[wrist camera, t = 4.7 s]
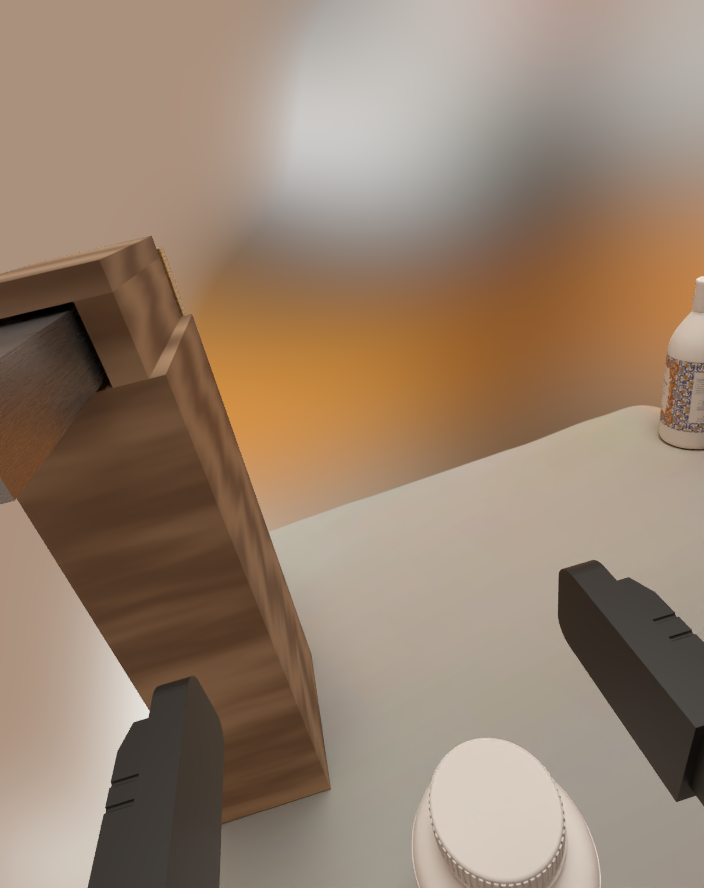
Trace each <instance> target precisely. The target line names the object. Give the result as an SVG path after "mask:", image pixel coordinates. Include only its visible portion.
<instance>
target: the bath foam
mask: <svg viewBox="0 0 704 888" xmlns="http://www.w3.org/2000/svg"><path fill="white" fill-rule="evenodd" d="M695 284H696V290H695V294H694V299H693V310H692V311H691V313H690V314H689V315H688V316H687V317H686V318H685V319H684V320H683V322H682V323H681V324H680V325H679V326H678V328H677V329H676V330H675V332H674V333H673V335H672V337H671V340H670V342H669V346H668V350H667V356H666V367H665V376H664V386H663V396H662V405H661V414H660V425H659V435H660V437H661V438H662V439H663V440H664V441H665V442H667V443H669V444H671V445H673V446H676V447H680V448H686V449H704V276H702V277H699V278H697V279H696V283H695Z"/></svg>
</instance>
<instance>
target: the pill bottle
mask: <svg viewBox="0 0 704 888" xmlns="http://www.w3.org/2000/svg"><path fill="white" fill-rule="evenodd" d="M433 775H434V776H433V777H432V779H431V783H430V785H429V786H428V788H427V790H426V791H425V793H424V795H423V797H422V799H421V802H420V804H419V807H418V810H417V813H416V816H415V820H414V826H413V833H412V857H413V866H414V871H415V876H416V881H417V884H418V888H601V875H600V866H599V860H598V855H597V851H596V847H595V844H594V841H593V838H592V836H591V833H590V831H589V828H588V826H587V824H586V822H585V820H584V818H583V817H582V815H581V813H580V812H579V810H578V808H577V807H576V805H575V804H574V802H573V801H572V800H571V798H570V797H569V796H568V794H567V793H566V792H565V791H564V790H563V789H562V788H561V787H560V785H559V784H558V783H557V782H555V781H554V780H553V778H551V776H550V774H549V772H547V771H546V768H545V767H544V766H542V765H541V763H540V761H539V760H537V759H536V758H535V757H534V756H532V755H531V754H530V753H529V752H528V751H526V750H525V749H523V748H521V747H519V746H518V745H516V744H513V743H511V742H508V741H505V740H501V739H495V738H478V739H473V740H469V741H467V742H464V743H462V744H460V745H458V746H456V747H455V748H453V749H452V750H451V751H449V752H448V753H447V755H446V756H444V757H443V759H442V760H441V761H440V763H439V765H438V766H437V768H436V771H435V772H434V774H433Z"/></svg>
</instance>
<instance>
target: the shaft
mask: <svg viewBox="0 0 704 888" xmlns="http://www.w3.org/2000/svg"><path fill="white" fill-rule="evenodd" d="M107 377H108V376H107V374H106V372H105V369H104V367H103V365H102V363H101V361H100V358H99V356H98V354H97V352H96V350H95V348H94V345H93V343H92V341H91V339H90V337H89V334H88V332H87V330H86V328H85V326H84V324H83V321H82V319H81V317H80V315H79V313H78V310H77V308H76V306H75V304H74V302H69V303H65V304H61V305H56V306H52V307H48V308H44V309H40V310H35V311H31V312H27V313H23V314H19V315H17V316H15V317H13V318H11V319H9V320H7V321H6V322H4V323H2V324H0V504H3V503H7V502H11V501H14V500H15V499H16V498H17V497H18V495H19V494H20V493H21V491H22V490H23V489H24V487H25V486H26V485H27V483H28V482H29V481H30V479H31V478H32V477H33V475H34V474H35V473H36V471H37V470H38V469H39V467H40V466H41V465H42V463H43V462H44V461H45V459H46V458H47V457H48V455H49V454H50V453H51V451H52V450H53V449H54V447H55V446H56V445H57V443H58V442H59V441H60V439H61V438H62V437H63V435H64V434H65V433H66V431H67V430H68V429H69V427H70V426H71V425H72V423H73V422H74V421H75V419H76V418H77V417H78V415H79V414H80V413H81V411H82V410H83V409H84V407H85V406H86V405H87V403H88V402H89V401H90V399H91V398H92V397H93V395H94V394H95V393H96V391H97V390H98V389H99V387H100V386H101V385H102V383H103V382H104V381H105V379H106V378H107Z"/></svg>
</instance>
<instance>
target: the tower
mask: <svg viewBox="0 0 704 888" xmlns="http://www.w3.org/2000/svg"><path fill="white" fill-rule="evenodd" d="M69 302H74V304H75V306H76V308H77V310H78V313H79V315H80V317H81V319H82V321H83V324H84V326H85V328H86V330H87V332H88V334H89V337H90V339H91V341H92V343H93V345H94V348H95V350H96V352H97V354H98V356H99V358H100V361H101V363H102V365H103V367H104V369H105V372H106V374H107V376H108V377H107V378H106V379H105V381H104V382H103V383H102V385H101V386H100V387H99V389H98V390H97V391H96V393H95V394H94V395H93V397H92V398H91V399H90V401H89V402H88V403H87V405H86V406H85V407H84V409H83V410H82V411H81V413H80V414H79V415H78V417H77V418H76V419H75V421H74V422H73V423H72V425H71V426H70V427H69V429H68V430H67V431H66V433H65V434H64V435H63V437H62V438H61V439H60V441H59V442H58V443H57V445H56V446H55V447H54V449H53V450H52V451H51V453H50V454H49V455H48V457H47V458H46V459H45V461H44V462H43V463H42V465H41V466H40V467H39V469H38V470H37V471H36V473H35V474H34V475H33V477H32V478H31V479H30V481H29V482H28V483H27V485H26V486H25V487H24V489H23V490H22V491H21V493H20V494H19V495H18V497H17V500H18V501H19V503H20V504H21V506H22V508H23V509H24V511H25V512H26V514H27V515H28V517H29V519H30V520H31V522H32V524H33V525H34V527H35V528H36V530H37V532H38V533H39V535H40V536H41V538H42V539H43V541H44V543H45V544H46V546H47V548H48V549H49V550H50V552H51V554H52V556H53V557H54V559H55V560H56V562H57V563H58V565H59V567H60V568H61V570H62V572H63V573H64V574H65V576H66V578H67V579H68V581H69V583H70V584H71V586H72V587H73V589H74V591H75V592H76V594H77V595H78V597H79V598H80V600H81V602H82V603H83V605H84V607H85V608H86V610H87V611H88V613H89V615H90V616H91V618H92V619H93V621H94V623H95V624H96V626H97V627H98V629H99V630H100V632H101V634H102V635H103V637H104V639H105V640H106V642H107V643H108V645H109V646H110V648H111V649H112V651H113V653H114V655H115V656H116V657H117V659H118V661H119V663H120V664H121V666H122V667H123V669H124V670H125V672H126V674H127V675H128V677H129V678H130V680H131V682H132V683H133V685H134V686H135V688H136V690H137V691H138V693H139V694H140V696H141V697H142V699H143V701H144V702H145V704H146V706H147V707H148V709H149V710H150V707H151V701H152V696H153V693H154V690H155V688H156V687H157V686H159V685H163V684H166V683H170V682H173V681H177V680H180V679H183V678H187V677H190V676H195V677H196V678H197V679H198V681H199V683H200V684H201V686H202V688H203V690H204V691H205V693H206V695H207V697H208V699H209V700H210V702H211V704H212V706H213V707H214V709H215V711H216V713H217V715H218V717H219V719H220V722H221V726H222V731H223V738H224V764H223V793H222V821H221V824H223V823H226V822H229V821H232V820H235V819H238V818H242V817H245V816H248V815H251V814H254V813H257V812H260V811H263V810H266V809H269V808H273V807H276V806H279V805H282V804H285V803H288V802H291V801H294V800H297V799H300V798H304V797H307V796H310V795H313V794H316V793H319V792H322V791H325V790H328V789H331V788H330V781H329V774H328V767H327V760H326V753H325V746H324V739H323V732H322V725H321V719H320V712H319V705H318V698H317V691H316V684H315V677H314V670H313V663H312V656H311V652H310V649H309V646H308V644H307V641H306V638H305V635H304V632H303V629H302V626H301V624H300V621H299V618H298V615H297V612H296V609H295V606H294V604H293V601H292V598H291V595H290V592H289V589H288V586H287V584H286V581H285V578H284V575H283V572H282V569H281V567H280V564H279V561H278V558H277V555H276V552H275V549H274V547H273V544H272V541H271V538H270V535H269V532H268V529H267V527H266V524H265V521H264V518H263V515H262V513H261V509H260V507H259V504H258V501H257V498H256V495H255V492H254V490H253V487H252V484H251V481H250V478H249V475H248V473H247V470H246V467H245V464H244V461H243V458H242V455H241V452H240V450H239V447H238V444H237V441H236V438H235V435H234V432H233V430H232V427H231V424H230V421H229V418H228V416H227V413H226V410H225V407H224V404H223V401H222V398H221V396H220V393H219V390H218V387H217V384H216V381H215V379H214V375H213V373H212V370H211V367H210V364H209V361H208V358H207V356H206V353H205V350H204V347H203V344H202V341H201V339H200V335H199V333H198V330H197V327H196V324H195V321H194V318H193V316H192V314H190V315H186V316H182V317H181V316H180V313H179V310H178V307H177V304H176V302H175V299H174V296H173V293H172V291H171V288H170V285H169V282H168V280H167V277H166V274H165V271H164V269H163V266H162V263H161V260H160V258H159V255H158V252H157V249H156V246H155V244H154V241H153V238H152V236H149V237H144V238H140V239H136V240H132V241H127V242H123V243H118V244H115V245H110V246H105V247H101V248H97V249H92V250H88V251H84V252H79V253H75V254H71V255H66V256H62V257H58V258H53V259H49V260H44V261H40V262H36V263H33V264H30V265H27V266H24V267H21V268H18V269H15V270H12V271H9V272H6V273H3V274H0V324H2V323H4V322H6V321H7V320H9V319H11V318H13V317H15V316H17V315H19V314H23V313H27V312H31V311H35V310H40V309H44V308H48V307H52V306H56V305H61V304H65V303H69Z"/></svg>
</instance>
